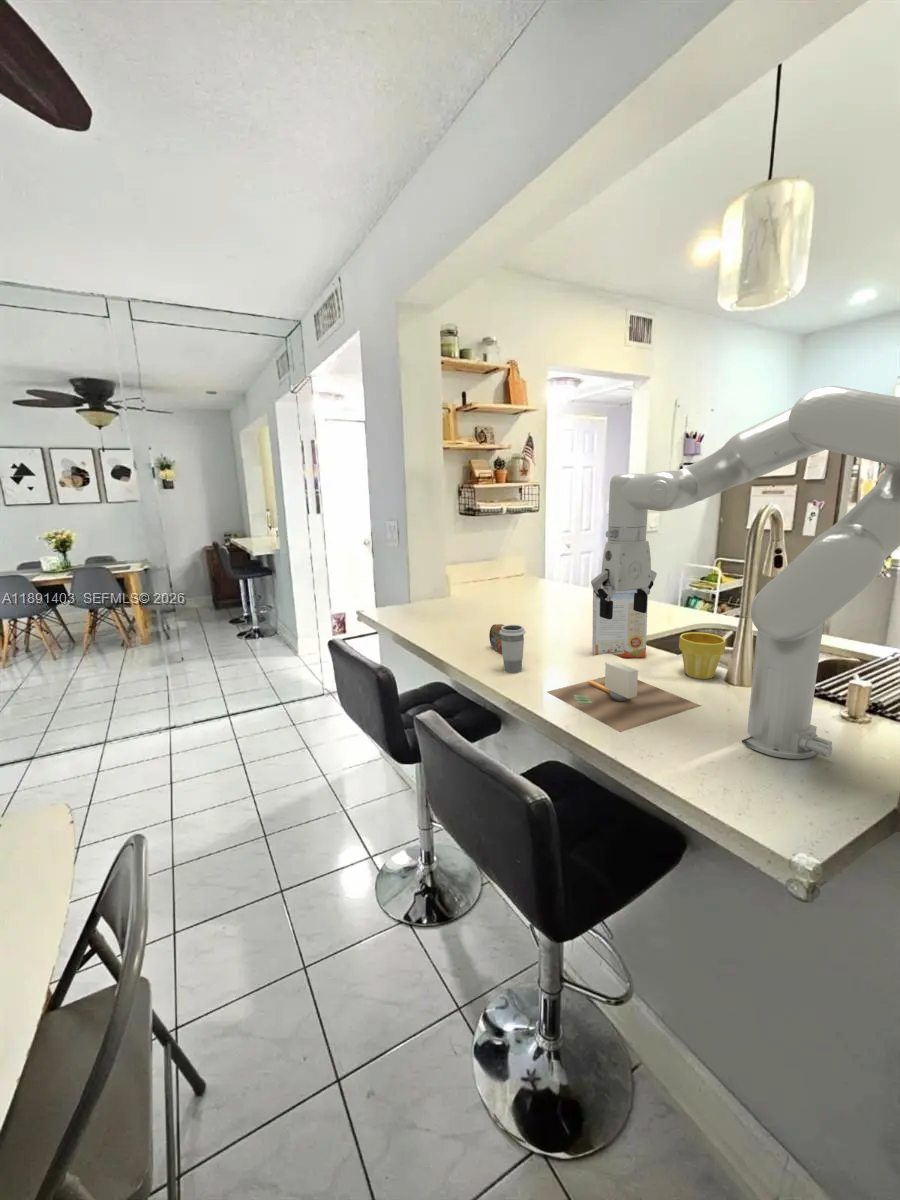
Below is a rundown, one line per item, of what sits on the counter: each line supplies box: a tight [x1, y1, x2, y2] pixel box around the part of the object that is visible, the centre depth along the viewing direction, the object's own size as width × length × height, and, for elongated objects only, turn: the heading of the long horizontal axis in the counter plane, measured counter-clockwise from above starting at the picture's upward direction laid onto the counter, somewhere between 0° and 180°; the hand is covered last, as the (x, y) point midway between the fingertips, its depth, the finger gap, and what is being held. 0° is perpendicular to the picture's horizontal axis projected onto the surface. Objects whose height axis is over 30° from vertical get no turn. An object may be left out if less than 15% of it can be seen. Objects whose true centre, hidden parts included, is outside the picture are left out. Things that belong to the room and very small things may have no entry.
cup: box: [499, 624, 526, 674], centre depth 134 cm, size 7×7×12 cm
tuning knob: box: [587, 660, 639, 701], centre depth 113 cm, size 14×4×7 cm, turn 26°
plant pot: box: [678, 631, 726, 680], centre depth 126 cm, size 10×10×10 cm
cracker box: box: [591, 584, 649, 659], centre depth 142 cm, size 14×6×21 cm, turn 84°
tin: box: [488, 623, 506, 655], centre depth 149 cm, size 15×3×8 cm, turn 25°
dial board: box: [547, 676, 702, 733], centre depth 112 cm, size 23×23×2 cm
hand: (623, 614), depth 108 cm, fingers open, 9 cm apart
